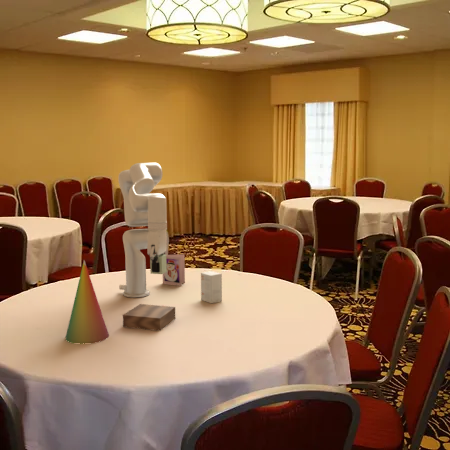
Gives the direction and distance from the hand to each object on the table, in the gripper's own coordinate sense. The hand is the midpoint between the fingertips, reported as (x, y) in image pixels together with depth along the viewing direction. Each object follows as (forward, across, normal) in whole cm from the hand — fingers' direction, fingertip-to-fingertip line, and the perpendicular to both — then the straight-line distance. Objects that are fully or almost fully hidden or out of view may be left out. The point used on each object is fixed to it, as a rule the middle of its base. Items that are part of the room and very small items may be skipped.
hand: (158, 270), depth 237 cm
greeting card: (+22, -60, -15) cm, 66 cm away
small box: (+22, -34, +12) cm, 42 cm away
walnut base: (+21, +3, -3) cm, 22 cm away
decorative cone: (+22, +25, -20) cm, 38 cm away
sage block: (+1, 0, 0) cm, 1 cm away
